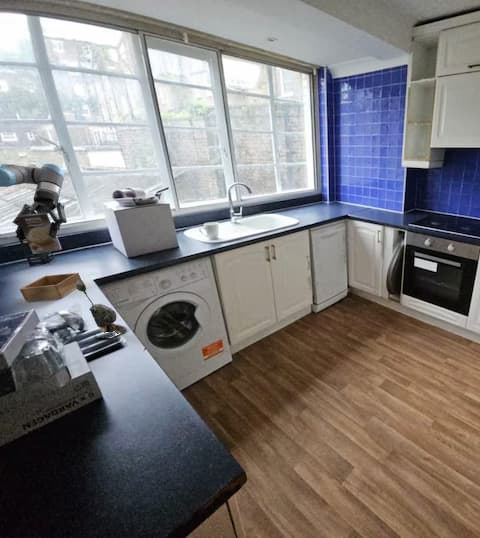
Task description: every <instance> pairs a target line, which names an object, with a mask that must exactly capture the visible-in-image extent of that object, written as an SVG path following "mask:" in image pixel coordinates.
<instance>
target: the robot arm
mask: <svg viewBox="0 0 480 538" xmlns="http://www.w3.org/2000/svg"><path fill="white" fill-rule="evenodd" d="M64 181H65V170H64V169H63V168H62V167H61V166H58V165H57V164H53V163H44V164H42V166H41V167H33V166H25V165H17V164H8V163H3V164H0V188H8V187H11V186H17V185H23V184H27V185H36V188H35V190H34V195H33V203H32V204H27V203H24V204H23V206H22V209H21V210H20V211H19V213H18V214H17V215H26V214H35V213H45V212H46V213H47V214H49V216H50V218H51V219H52V221H51V227H50V231H49V236H51V237H53V238H56V236H57V234H58V231H60V228H61V225H62V224H66V223H68V220H67V216H66V213H65V207H66V206H65V205H64V204H63V203H62V202H60V201H59V200H60V196H61V191H62V187H63V185H64ZM55 209H56V211H57V213H56V211H55ZM12 224H15V225H16V226H17V227H16V230H17V234H16V235H15V238H16V239H18V240H19V239H20V240H23V241H25V240H26V239H25V235H24V232H23V230H22V228H21V226H20V224H19V222H18V219H17V216H16V217H15V218H14V219H13V220H12Z"/></svg>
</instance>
